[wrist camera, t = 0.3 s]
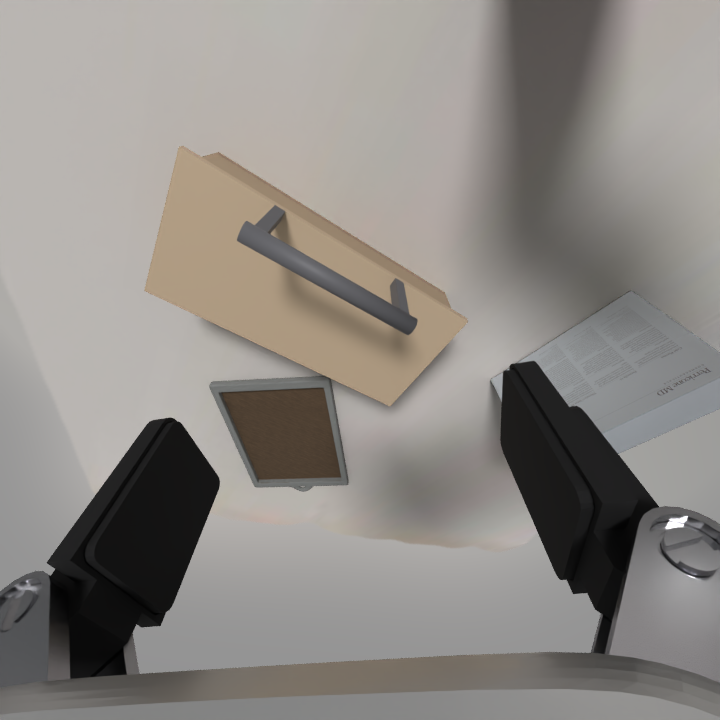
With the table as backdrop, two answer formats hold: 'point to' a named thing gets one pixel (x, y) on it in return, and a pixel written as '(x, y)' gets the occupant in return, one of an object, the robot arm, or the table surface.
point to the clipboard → (284, 430)
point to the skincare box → (631, 372)
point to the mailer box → (324, 225)
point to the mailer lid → (291, 285)
